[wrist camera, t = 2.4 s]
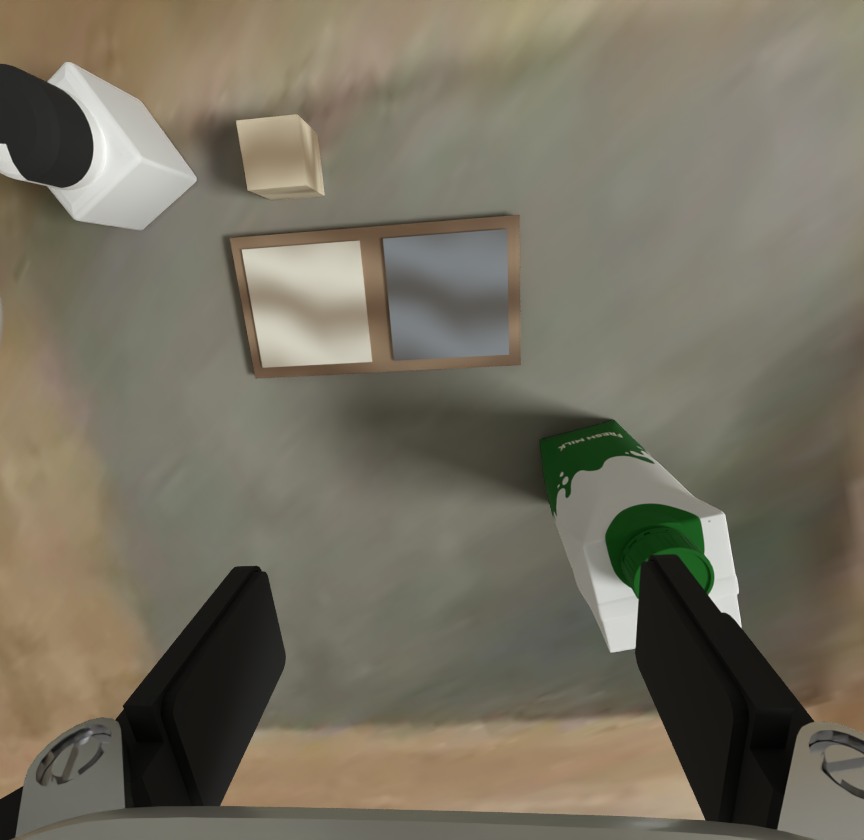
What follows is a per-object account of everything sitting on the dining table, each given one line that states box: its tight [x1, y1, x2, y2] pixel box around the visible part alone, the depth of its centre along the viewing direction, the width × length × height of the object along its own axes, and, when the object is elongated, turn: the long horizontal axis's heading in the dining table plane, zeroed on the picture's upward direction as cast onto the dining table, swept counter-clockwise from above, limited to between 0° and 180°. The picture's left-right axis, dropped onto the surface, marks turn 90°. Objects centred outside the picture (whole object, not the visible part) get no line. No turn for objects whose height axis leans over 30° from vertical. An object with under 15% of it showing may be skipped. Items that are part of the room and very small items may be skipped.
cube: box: [236, 114, 325, 200], centre depth 35 cm, size 4×4×4 cm
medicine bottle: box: [0, 62, 197, 230], centre depth 32 cm, size 7×7×12 cm
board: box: [230, 215, 521, 378], centre depth 39 cm, size 12×24×1 cm, turn 94°
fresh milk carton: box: [540, 420, 742, 652], centre depth 33 cm, size 9×9×20 cm
